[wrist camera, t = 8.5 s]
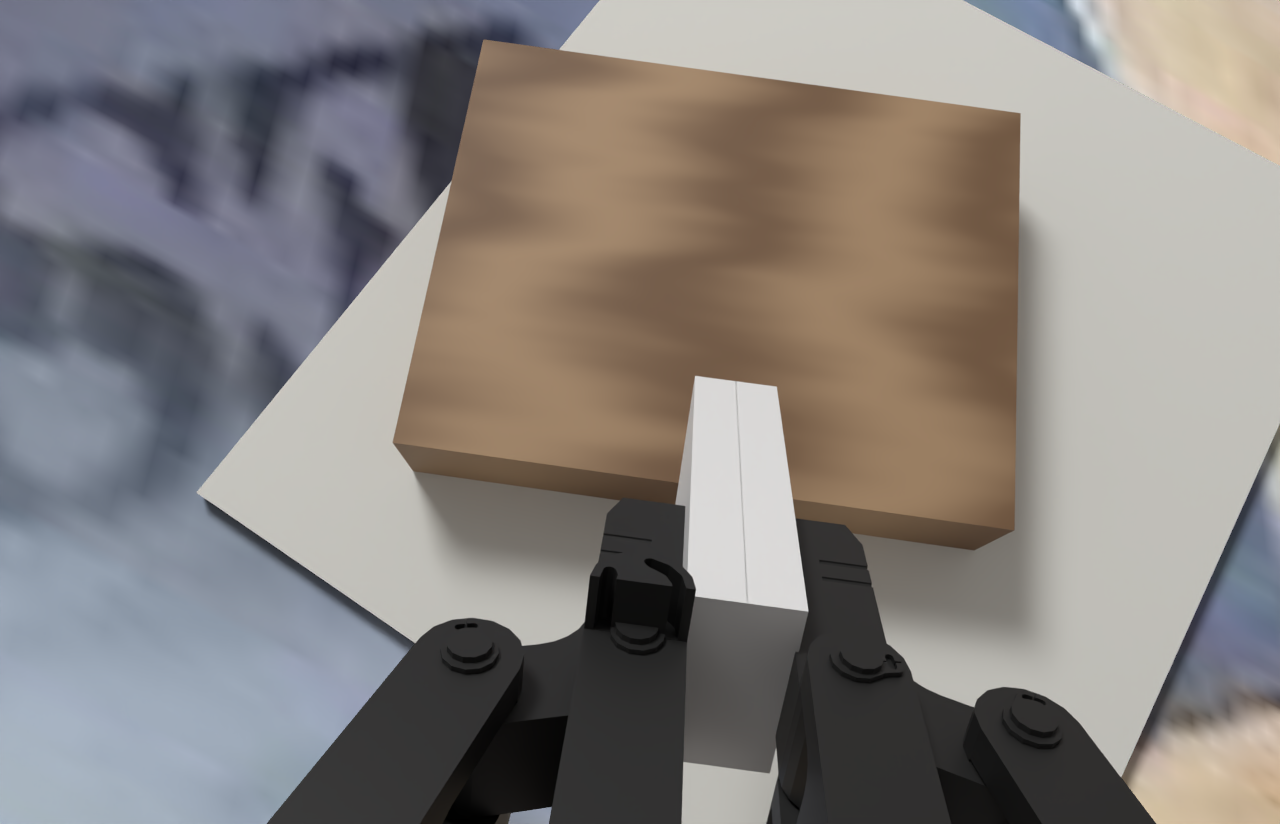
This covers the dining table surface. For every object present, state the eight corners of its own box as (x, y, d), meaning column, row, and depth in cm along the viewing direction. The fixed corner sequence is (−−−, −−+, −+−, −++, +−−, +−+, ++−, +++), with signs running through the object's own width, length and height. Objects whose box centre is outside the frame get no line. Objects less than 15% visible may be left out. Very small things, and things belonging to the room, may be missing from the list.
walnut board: (392, 442, 22) (483, 39, 25) (412, 471, 24) (493, 99, 28) (1014, 530, 22) (1020, 113, 25) (974, 550, 24) (985, 166, 28)
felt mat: (202, 496, 24) (196, 492, 24) (707, -122, 31) (708, -133, 31) (993, 1040, 21) (1000, 1046, 21) (1363, 221, 28) (1373, 214, 28)
